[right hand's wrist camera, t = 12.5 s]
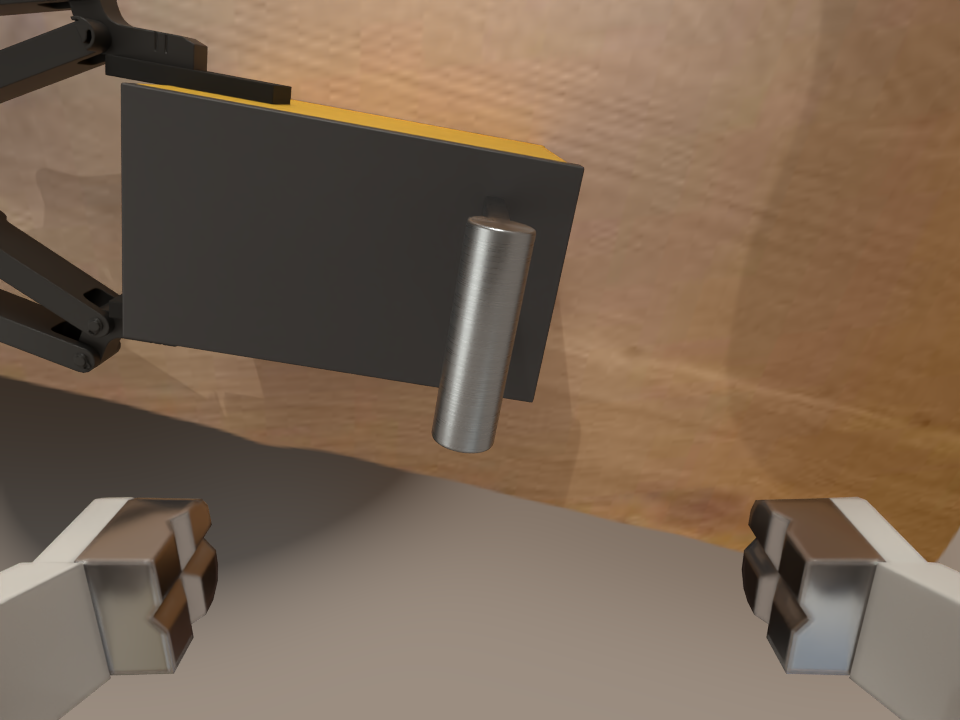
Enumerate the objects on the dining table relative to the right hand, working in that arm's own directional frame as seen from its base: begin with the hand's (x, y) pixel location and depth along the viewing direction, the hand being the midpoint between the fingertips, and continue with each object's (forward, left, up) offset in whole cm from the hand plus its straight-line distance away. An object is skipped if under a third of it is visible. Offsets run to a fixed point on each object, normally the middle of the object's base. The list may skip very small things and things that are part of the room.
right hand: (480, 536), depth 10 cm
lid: (+5, -2, -17) cm, 18 cm away
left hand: (+9, -3, -22) cm, 23 cm away
